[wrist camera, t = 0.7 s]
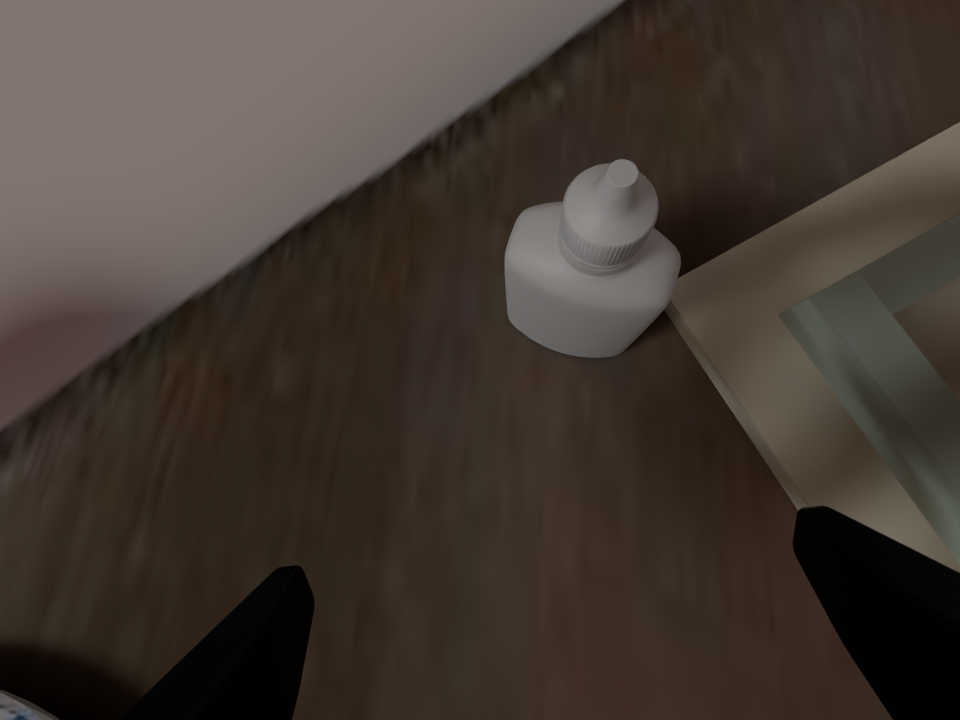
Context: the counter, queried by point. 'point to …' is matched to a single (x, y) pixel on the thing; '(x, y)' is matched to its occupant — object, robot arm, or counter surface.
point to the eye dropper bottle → (591, 264)
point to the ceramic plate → (21, 709)
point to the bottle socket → (849, 347)
